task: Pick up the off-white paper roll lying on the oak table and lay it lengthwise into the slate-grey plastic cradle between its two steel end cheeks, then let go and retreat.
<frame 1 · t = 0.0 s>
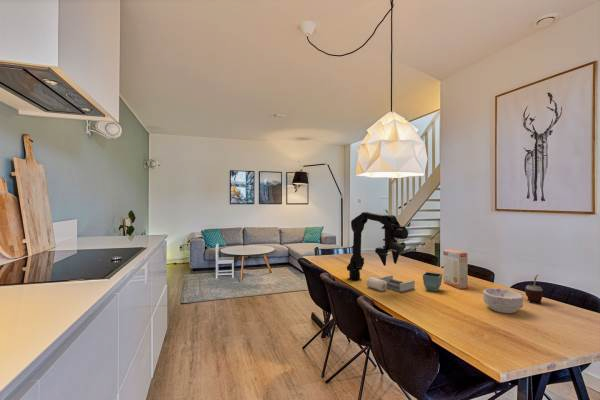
hand: (390, 264, 168), 15 cm above the table, fingers open, 9 cm apart
grey stone bowl: (502, 310, 137), on the table
mate gourd: (534, 302, 147), on the table
flower pot: (432, 290, 168), on the table
paper roll: (376, 283, 171), point 3 cm above the table
cradle: (396, 287, 173), on the table
cracker box: (455, 286, 177), on the table
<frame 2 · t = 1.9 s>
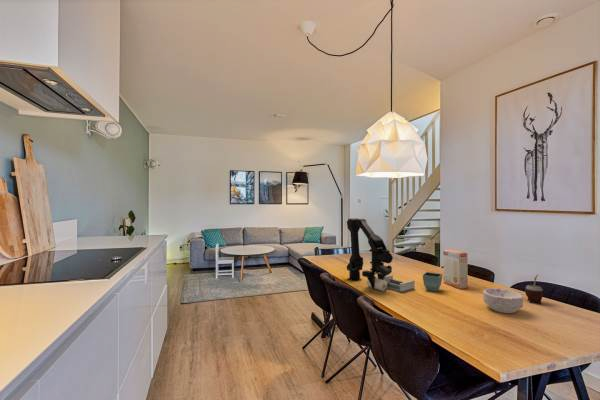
hand: (376, 287, 171), 1 cm above the table, fingers closed on paper roll, 6 cm apart
paper roll: (376, 283, 171), point 3 cm above the table, touching gripper
everything else where it was.
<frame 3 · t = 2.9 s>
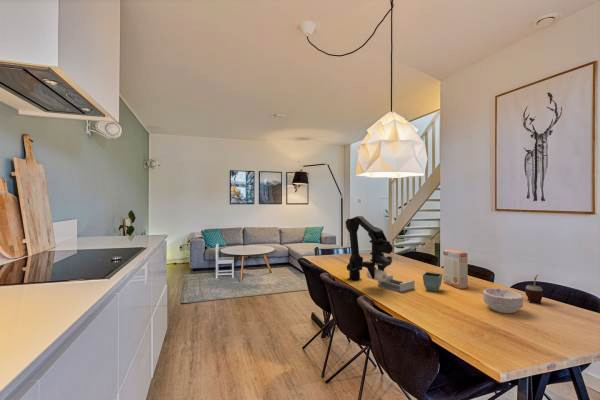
hand: (376, 278, 171), 6 cm above the table, fingers closed on paper roll, 6 cm apart
paper roll: (376, 274, 171), point 8 cm above the table, touching gripper
everything else where it was.
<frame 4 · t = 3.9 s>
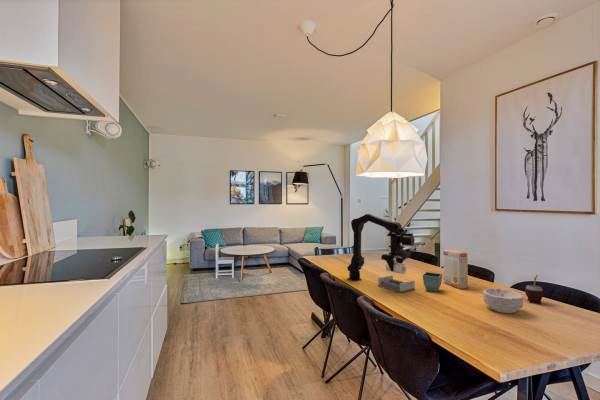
hand: (395, 270, 173), 10 cm above the table, fingers closed on paper roll, 6 cm apart
paper roll: (395, 267, 173), point 12 cm above the table, touching gripper
everything else where it was.
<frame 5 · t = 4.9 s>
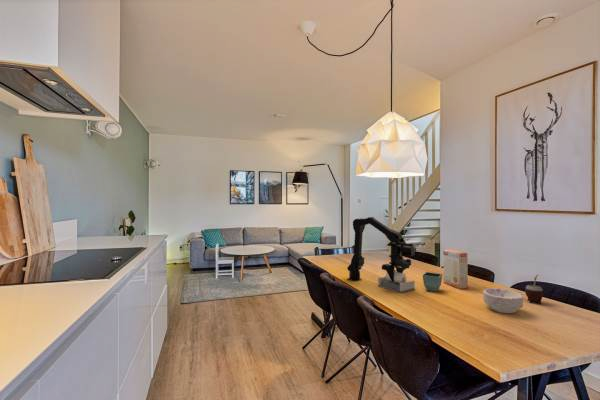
hand: (395, 280, 173), 4 cm above the table, fingers closed on paper roll, 6 cm apart
paper roll: (396, 277, 173), point 6 cm above the table, touching gripper
everything else where it was.
when the fingers open (4 cm above the table, at t = 5.8 s): paper roll drops 2 cm, resting on cradle.
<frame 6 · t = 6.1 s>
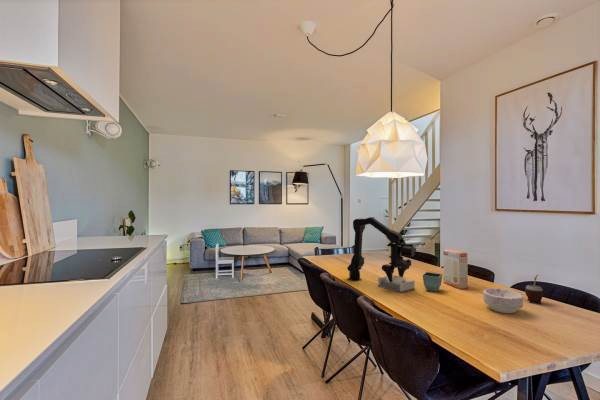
hand: (396, 280, 173), 4 cm above the table, fingers open, 9 cm apart
paper roll: (396, 280, 173), point 4 cm above the table, touching cradle
everything else where it was.
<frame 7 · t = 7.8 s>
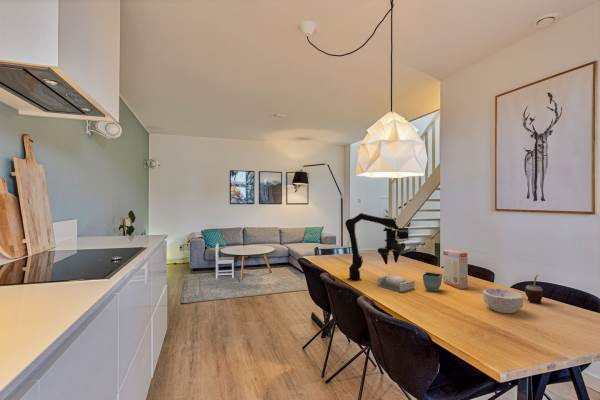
hand: (391, 263, 184), 12 cm above the table, fingers open, 9 cm apart
nothing on the table moved.
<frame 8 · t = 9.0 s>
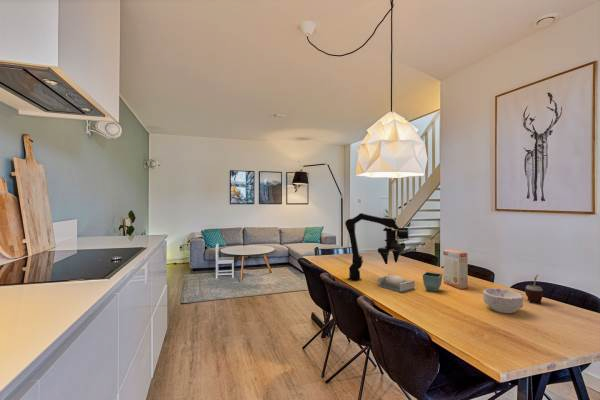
hand: (391, 263, 185), 12 cm above the table, fingers open, 9 cm apart
nothing on the table moved.
at the end: paper roll 0.0 cm off-centre on the cradle, point 4.0 cm above the cradle's base; the gripper is holding nothing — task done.
